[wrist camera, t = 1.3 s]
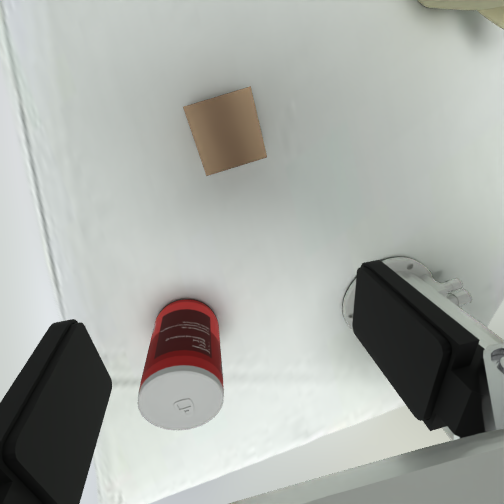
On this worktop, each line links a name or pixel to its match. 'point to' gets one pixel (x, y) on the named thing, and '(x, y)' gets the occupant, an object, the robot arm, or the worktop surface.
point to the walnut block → (226, 131)
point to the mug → (472, 7)
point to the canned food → (182, 368)
